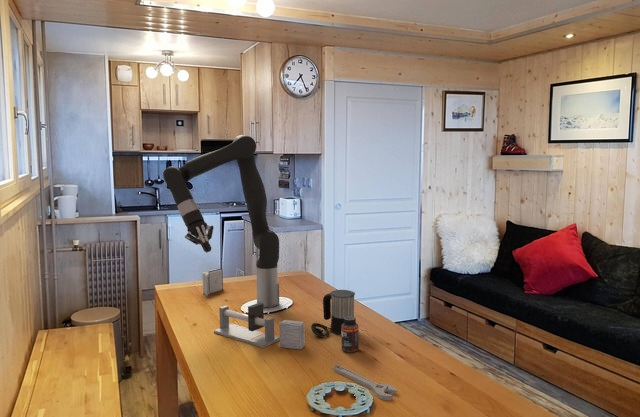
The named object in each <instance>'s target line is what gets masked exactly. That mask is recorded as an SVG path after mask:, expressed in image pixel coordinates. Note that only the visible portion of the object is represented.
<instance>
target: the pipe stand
mask: <svg viewBox="0 0 640 417" xmlns="http://www.w3.org/2000/svg"><path fill="white" fill-rule="evenodd" d="M229 308H230V307H229V306H228V305H224V306H220V307H219V328H216V329H214V330H213V333H214V334H216V335H220V336H223V337H227V338H230V339H234V340H237V341H239V342H243V343H245V344H246V343H247V344H250V345H253V346H256V347H259V348H263V349H264V348H266V347H268V346H270V345H272V344H274V343H276V342H280V336H276V335H275V317H272V316H269V317H268V318H264V319H262V318H259V317H255V325H257V324H258V325H261V326H264V332H263V331H259V330H255V331H253V332H252V331H249V330H248V327H245V326H242V325H238V324H234V323H230V318H233V319H236V320H239V321H243V322H246V323H248V314H245V313H242V312H237V311H234V310H231V309H229Z"/></svg>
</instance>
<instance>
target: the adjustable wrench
mask: <svg viewBox="0 0 640 417" xmlns="http://www.w3.org/2000/svg"><path fill="white" fill-rule="evenodd" d="M332 370H333V371H334V372H335V373H338V374H339V375H342V376H343V377H346V378H348V379H350V380H351V381H354V382H356V383H358V384H360V385H362V386H364V387H366V388H368V389H370V390H371V391H372V392H373V393H374V394H375V396H376V397H377V398H379V399H381V400H384V401H391V400H393V397H394V396H393V395H396V396H397V392H398V391H397V390H398V389H397V388H396V387H394V386H393V385H390V383H387V384H386V383H378V382H375V381H373V380H371V379H369V378H367V377H365V376H363V375H360V374H359V373H356V372H354V371H352V370H351V369H348V368H346V367H344V366H342V365H340V364H334V365H333V366H332Z"/></svg>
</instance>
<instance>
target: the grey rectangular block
mask: <svg viewBox="0 0 640 417" xmlns="http://www.w3.org/2000/svg"><path fill="white" fill-rule="evenodd" d="M223 274H224V273H223V268H222V269H221V268H214V269H211V270H207V271H204V272H202V294H203V295H205V297H208V296H209V295H210V294H212V293H216V292H219V291H223V290H224V280H223V279H224V276H223Z"/></svg>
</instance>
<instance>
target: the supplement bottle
mask: <svg viewBox="0 0 640 417" xmlns="http://www.w3.org/2000/svg"><path fill="white" fill-rule="evenodd" d="M340 335H341V336H340V337H341V340H340V341H341V343H340V344H341V350H342V351H343V352H345V353H356V352H357V351H359V349H360V348H359V345H360V344H359V339H360V338H359V337H360V335H359V323H357V321H356V316H355V317H352V316H348V317H345V318H344V323H343V324H342V326H341V334H340Z"/></svg>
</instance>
